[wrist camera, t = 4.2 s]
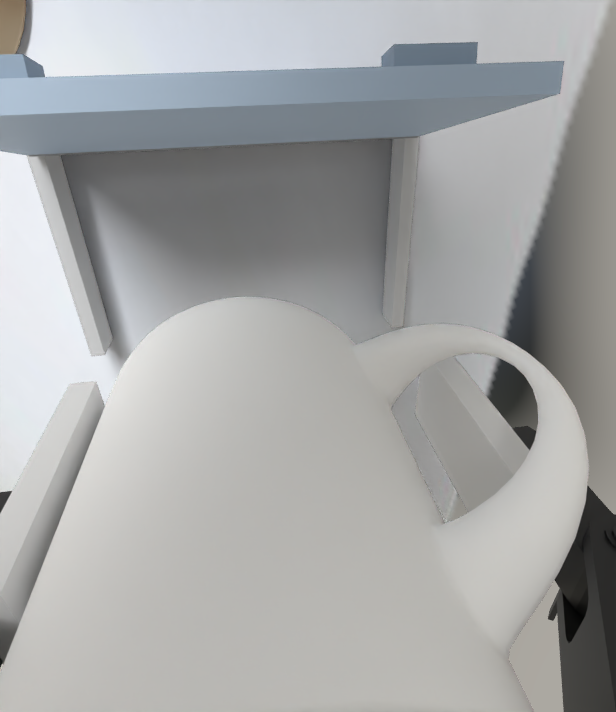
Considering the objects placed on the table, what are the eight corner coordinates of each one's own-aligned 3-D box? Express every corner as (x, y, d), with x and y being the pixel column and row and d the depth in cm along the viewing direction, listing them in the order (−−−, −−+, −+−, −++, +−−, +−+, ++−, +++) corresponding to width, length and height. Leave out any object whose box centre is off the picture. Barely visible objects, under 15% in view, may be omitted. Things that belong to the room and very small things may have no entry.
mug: (492, 366, 16) (814, 725, 7) (229, 519, 19) (226, 936, 10) (381, 153, 12) (844, 388, 3) (57, 387, 14) (-250, 924, 5)
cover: (34, 157, 22) (25, 124, 21) (414, 138, 24) (414, 108, 23) (-179, 124, 11) (-206, 54, 10) (559, 95, 13) (567, 35, 12)
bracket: (34, 122, 23) (16, 124, 21) (408, 106, 25) (422, 108, 23) (100, 339, 30) (91, 356, 28) (393, 313, 32) (403, 326, 30)
